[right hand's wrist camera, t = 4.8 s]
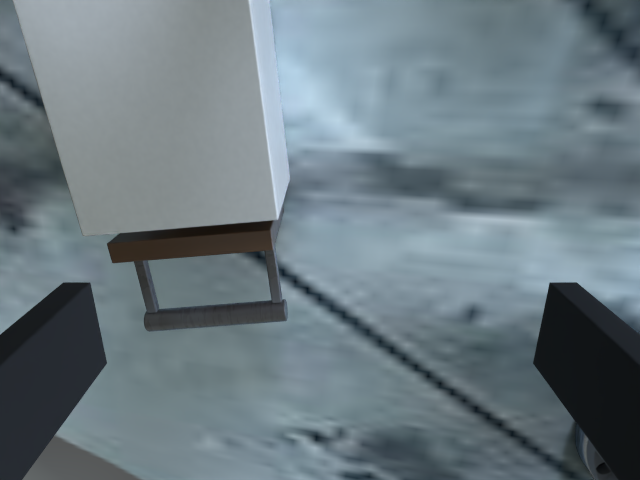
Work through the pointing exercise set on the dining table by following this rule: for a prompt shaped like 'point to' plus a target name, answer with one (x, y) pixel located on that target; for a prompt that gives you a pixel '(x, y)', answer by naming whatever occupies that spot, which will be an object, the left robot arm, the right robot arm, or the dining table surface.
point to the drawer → (202, 244)
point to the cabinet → (161, 109)
